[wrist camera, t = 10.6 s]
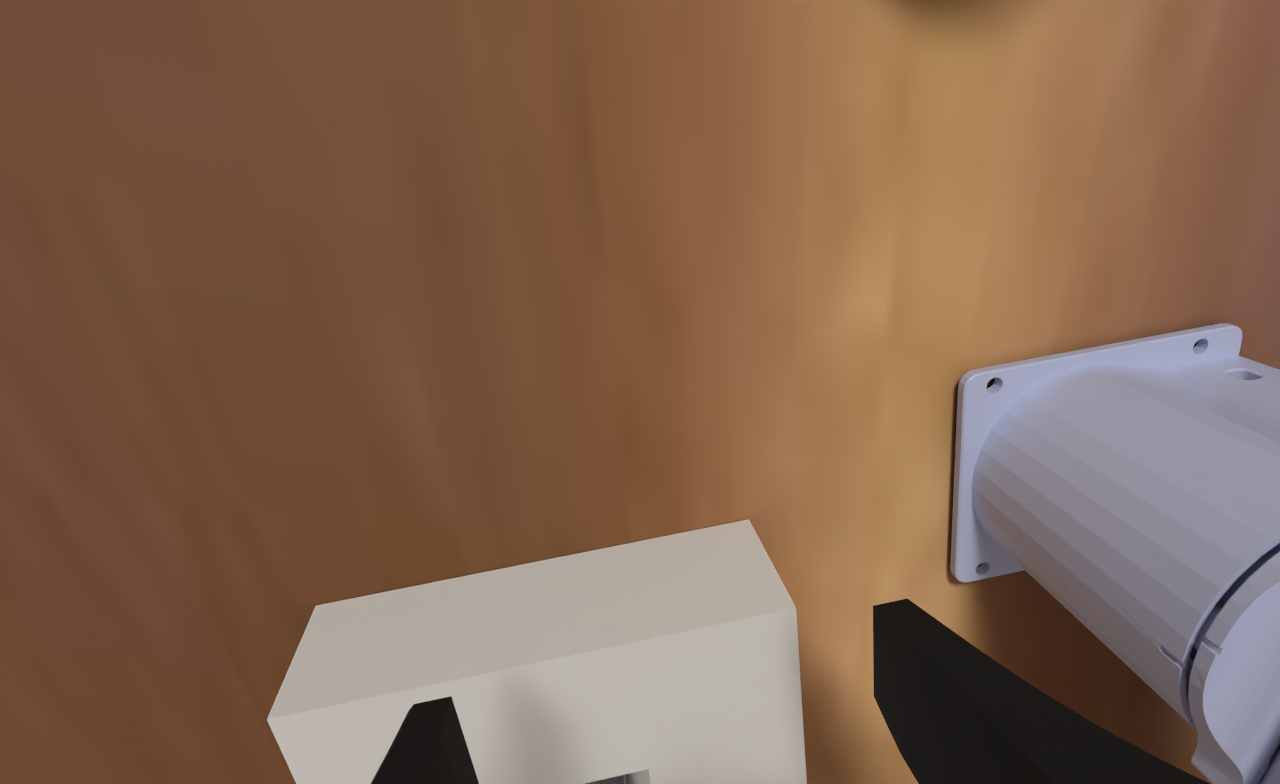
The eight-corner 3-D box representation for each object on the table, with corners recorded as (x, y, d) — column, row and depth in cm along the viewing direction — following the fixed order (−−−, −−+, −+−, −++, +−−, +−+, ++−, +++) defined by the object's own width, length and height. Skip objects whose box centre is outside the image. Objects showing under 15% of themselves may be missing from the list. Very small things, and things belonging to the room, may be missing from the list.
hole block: (748, 519, 23) (796, 608, 19) (774, 810, 29) (815, 928, 25) (315, 605, 22) (267, 719, 18) (427, 891, 28) (409, 1030, 23)
